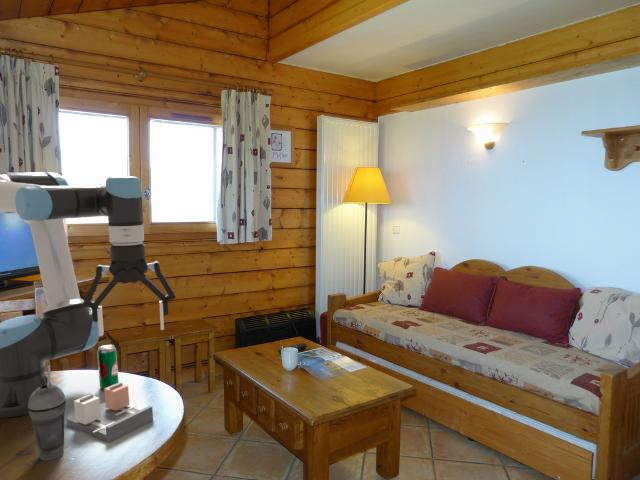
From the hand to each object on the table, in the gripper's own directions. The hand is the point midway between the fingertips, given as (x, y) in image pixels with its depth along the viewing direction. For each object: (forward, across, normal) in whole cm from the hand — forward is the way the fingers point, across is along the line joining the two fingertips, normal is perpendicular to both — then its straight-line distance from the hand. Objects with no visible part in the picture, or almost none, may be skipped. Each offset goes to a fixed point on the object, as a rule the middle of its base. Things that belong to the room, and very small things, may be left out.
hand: (132, 331), depth 116 cm
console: (+23, -6, +3) cm, 24 cm away
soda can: (+24, -8, +27) cm, 37 cm away
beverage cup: (+23, -17, -8) cm, 30 cm away
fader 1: (+21, -11, +2) cm, 24 cm away
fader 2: (+21, -5, +7) cm, 23 cm away
